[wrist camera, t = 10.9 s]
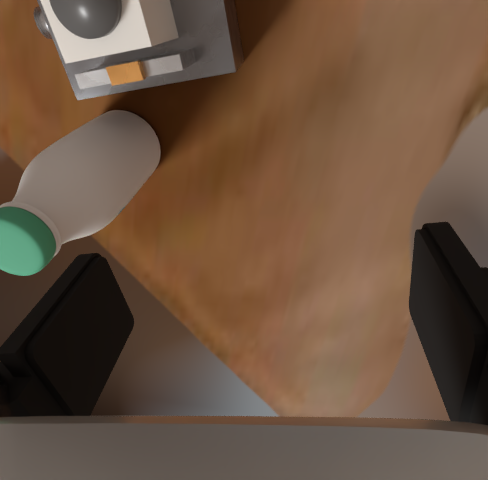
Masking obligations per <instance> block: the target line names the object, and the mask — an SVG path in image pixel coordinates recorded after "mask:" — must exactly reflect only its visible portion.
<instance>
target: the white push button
mask: <svg viewBox="0 0 488 480" xmlns="http://www.w3.org/2000/svg"><path fill="white" fill-rule="evenodd" d="M40 1H41V3H42V6H43V8H44V11H45V13H46V16H47V18H48V21H49V23H50V26H51V28H52V31H53V33H54V36H55V38H56V41H57V43H58V46H59V49H60V51H61V54H62V56H63V59H64V61H65V64H66V63H71V62H76V61H81V60H86V59H91V58H96V57H101V56H106V55H111V54H116V53H121V52H126V51H131V50H136V49H141V48H146V47H151V46H154V45H158V44H161V43H164V42H167V41H170V40H173V39H176V38H179V37H178V33H177V29H176V25H175V20H174V16H173V12H172V8H171V4H170V0H40Z"/></svg>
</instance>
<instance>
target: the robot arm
mask: <svg viewBox="0 0 488 480" xmlns="http://www.w3.org/2000/svg"><path fill="white" fill-rule="evenodd" d="M409 310H410V314H411V317H412V320H413V323H414V325H415V327H416V330H417V333H418V336H419V339H420V341H421V344H422V346H423V349H424V352H425V354H426V357H427V360H428V362H429V365H430V367H431V370H432V373H433V376H434V378H435V381H436V384H437V386H438V389H439V391H440V394H441V397H442V399H443V402H444V405H445V407H446V410H447V413H448V415H449V418H450V420H451V421H442V420H427V419H393V418H355V417H260V416H258V417H254V416H246V417H245V416H90V415H91V413H92V411H93V409H94V407H95V405H96V402H97V400H98V398H99V396H100V394H101V392H102V390H103V388H104V386H105V384H106V382H107V380H108V378H109V376H110V374H111V371H112V370H113V367H114V365H115V364H116V362H117V359H118V357H119V355H120V353H121V351H122V349H123V347H124V345H125V343H126V341H127V338H128V337H129V335H130V333H131V331H132V329H133V326H134V318H133V315H132V313H131V311H130V309H129V307H128V305H127V303H126V301H125V298H124V296H123V294H122V292H121V290H120V287H119V285H118V283H117V281H116V279H115V277H114V275H113V272H112V270H111V268H110V266H109V264H108V262H107V260H106V259H105V258H104V257H102V256H101V255H100V254H98V253H91V254H81V255H79V256H77V257H76V258H75V259H74V261H73V262H72V263H71V264H70V265H69V267H68V268H67V269H66V270H65V271H64V273H63V274H62V275H61V276H60V277H59V278H58V280H57V281H56V282H55V283H54V284H53V286H52V287H51V288H50V289H49V290H48V292H47V293H46V294H45V295H44V296H43V298H42V299H41V300H40V301H39V302H38V303H37V305H36V306H35V307H34V308H33V309H32V310H31V312H30V313H29V314H28V315H27V316H26V318H25V319H24V320H23V321H22V322H21V323H20V325H19V326H18V327H17V328H16V329H15V331H14V332H13V333H12V334H11V335H10V337H9V338H8V339H7V340H6V341H5V342H4V344H3V345H2V346H1V347H0V361H1V362H0V480H488V268H486V267H485V268H480V267H479V265H478V264H477V262H476V261H475V259H474V258H473V257H472V255H471V254H470V252H469V251H468V250H467V248H466V247H465V245H464V244H463V242H462V241H461V240H460V238H459V237H458V235H457V234H456V232H455V231H454V230H453V228H452V227H451V225H450V224H449V223H448V222H439V223H427V224H424V225H423V227H422V229H421V230H416V232H415V238H414V250H413V261H412V273H411V285H410V296H409Z"/></svg>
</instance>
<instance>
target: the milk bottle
mask: <svg viewBox="0 0 488 480" xmlns="http://www.w3.org/2000/svg"><path fill="white" fill-rule="evenodd" d="M160 155H161V150H160V144H159V140H158V138H157V136H156V134H155V132H154V130H153V129H152V128H151V126H150V125H149V124H148V123H147V122H146V121H145V120H144V119H142V118H141V117H139V116H138V115H136V114H134V113H131V112H128V111H124V110H112V111H108V112H106V113H104V114H102V115H100V116H98V117H96V118H94V119H93V120H91V121H89V122H88V123H86V124H84V125H83V126H81V127H79V128H78V129H76V130H74V131H73V132H71V133H69V134H68V135H66V136H64V137H63V138H61V139H60V140H58V141H56V142H55V143H53V144H52V145H50V146H49V147H48V148H46V149H45V150H43V151H42V152H40V153H39V154H38V155H37V156H36V157H35V158H34V159H33V160H32V161H31V163H30V164H29V165H28V166H27V168H26V170H25V171H24V173H23V175H22V178H21V181H20V184H19V187H18V191H17V194H16V196H15V197H14V199H13V201H12V202H8V203H4V204H2V205H1V206H0V269H1V270H3V271H6V272H9V273H11V274H15V275H22V276H23V275H24V276H26V275H32V274H35V273H37V272H39V271H40V270H42V269H43V268H44V267H45V266H46V265H47V264H48V263H49V262H50V261H51V259H52V258H53V257H54V256H55V255H56V254H57V253H58V252H59V250H60V248H61V245H62V244H63V243H66V242H68V241H70V240H74V239H78V238H82V237H85V236H89V235H91V234H93V233H96V232H97V231H99V230H101V229H102V228H104V227H105V226H107V225H108V224H109V223H110V222H111V221H112V220H114V218H115V217H116V216H117V215H118V214H119V213H120V212H121V211H122V210H123V209H124V207H125V206H126V205H127V204H128V203H129V201H130V200H131V199H132V198H133V197H134V196H135V194H136V193H137V192H138V191H139V189H140V188H141V187H142V186H143V185H144V183H145V182H146V181H147V180H148V178H149V177H150V176H151V175H152V173H153V172H154V171H155V169H156V168H157V166H158V164H159V161H160Z"/></svg>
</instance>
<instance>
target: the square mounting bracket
mask: <svg viewBox="0 0 488 480" xmlns="http://www.w3.org/2000/svg"><path fill="white" fill-rule="evenodd" d="M37 1H38V4H39V6H38V7H36V8H35V9H34V19H35V22H36V24H37V27H38V28H39V30H40V32H41V33H42V34H43V35H44V36H45V37H46V38H48V39H53V41H54V43H55V46H56V48H57V51H58V53H59V56H60V58H61V61H62V63H63V66H64V68H65V71H66V73H67V76H68V78H69V81H70V83H71V86H72V88H73V91H74V93H75V96H76V98H77V100H82V99H87V98H93V97H98V96H104V95H110V94H115V93H121V92H126V91H132V90H138V89H143V88H149V87H154V86H160V85H166V84H171V83H177V82H182V81H188V80H193V79H199V78H205V77H210V76H216V75H221V74H227V73H233V72H236V71H237V70H238V69H239V67H240V66H241V65H242V64H243V62H244V57H243V50H242V44H241V38H240V32H239V25H238V19H237V13H236V7H235V0H170V4H171V8H172V12H173V16H174V20H175V25H176V29H177V33H178V37H179V38H176V39H173V40H170V41H167V42H164V43H161V44H158V45H154V46H151V47H146V48H141V49H136V50H131V51H126V52H121V53H116V54H111V55H106V56H101V57H96V58H91V59H86V60H81V61H76V62H71V63H66V64H65V61H64V59H63V56H62V54H61V51H60V49H59V46H58V43H57V41H56V38H55V36H54V33H53V31H52V28H51V26H50V23H49V21H48V18H47V16H46V13H45V11H44V8H43V6H42V3H41V1H40V0H37Z"/></svg>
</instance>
